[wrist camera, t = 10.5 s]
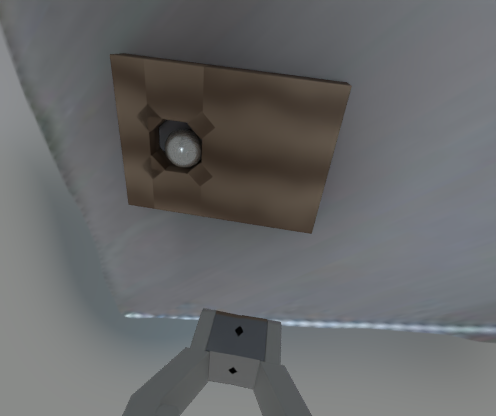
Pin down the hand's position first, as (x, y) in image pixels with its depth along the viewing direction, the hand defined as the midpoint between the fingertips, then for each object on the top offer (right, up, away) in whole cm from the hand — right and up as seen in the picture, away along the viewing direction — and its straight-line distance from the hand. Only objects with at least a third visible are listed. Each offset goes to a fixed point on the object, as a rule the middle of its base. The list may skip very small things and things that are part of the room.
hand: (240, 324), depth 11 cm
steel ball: (-7, +11, +19) cm, 23 cm away
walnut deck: (-2, +11, +21) cm, 24 cm away
